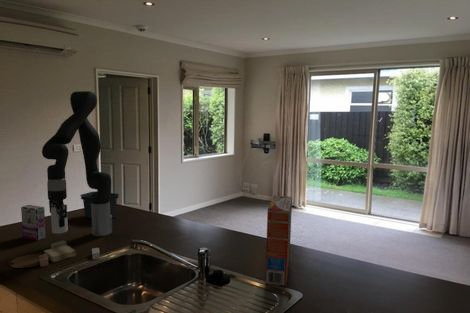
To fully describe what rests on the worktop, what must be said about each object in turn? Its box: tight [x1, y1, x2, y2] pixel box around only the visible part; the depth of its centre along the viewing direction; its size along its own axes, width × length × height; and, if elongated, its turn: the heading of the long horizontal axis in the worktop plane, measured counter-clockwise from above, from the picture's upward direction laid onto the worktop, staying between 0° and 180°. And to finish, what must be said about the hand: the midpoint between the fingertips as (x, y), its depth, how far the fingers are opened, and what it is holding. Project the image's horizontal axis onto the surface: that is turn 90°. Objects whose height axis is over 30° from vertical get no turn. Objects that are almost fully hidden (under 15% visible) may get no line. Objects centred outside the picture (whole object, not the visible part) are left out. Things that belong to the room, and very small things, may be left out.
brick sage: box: [50, 240, 67, 249], centre depth 172 cm, size 6×3×3 cm, turn 150°
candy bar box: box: [20, 204, 47, 241], centre depth 184 cm, size 11×5×16 cm, turn 68°
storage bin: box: [79, 190, 120, 219], centre depth 221 cm, size 21×16×14 cm
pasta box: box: [264, 195, 293, 287], centre depth 150 cm, size 23×8×30 cm, turn 168°
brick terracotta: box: [38, 253, 49, 267], centre depth 156 cm, size 6×3×3 cm, turn 32°
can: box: [50, 203, 69, 235], centre depth 162 cm, size 6×6×12 cm
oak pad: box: [43, 244, 77, 263], centre depth 164 cm, size 10×10×2 cm
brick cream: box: [91, 247, 101, 260], centre depth 164 cm, size 6×3×3 cm
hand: (58, 224), depth 162 cm, fingers closed on can, 6 cm apart
